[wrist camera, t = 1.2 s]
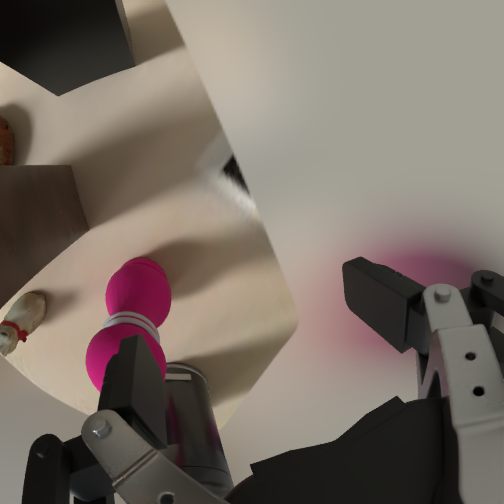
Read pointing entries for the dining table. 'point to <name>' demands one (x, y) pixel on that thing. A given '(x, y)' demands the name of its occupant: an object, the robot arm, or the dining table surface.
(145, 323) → the pepper mill
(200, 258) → the dining table surface
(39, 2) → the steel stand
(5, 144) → the bread roll
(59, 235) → the plinth
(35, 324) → the chocolate bunny
